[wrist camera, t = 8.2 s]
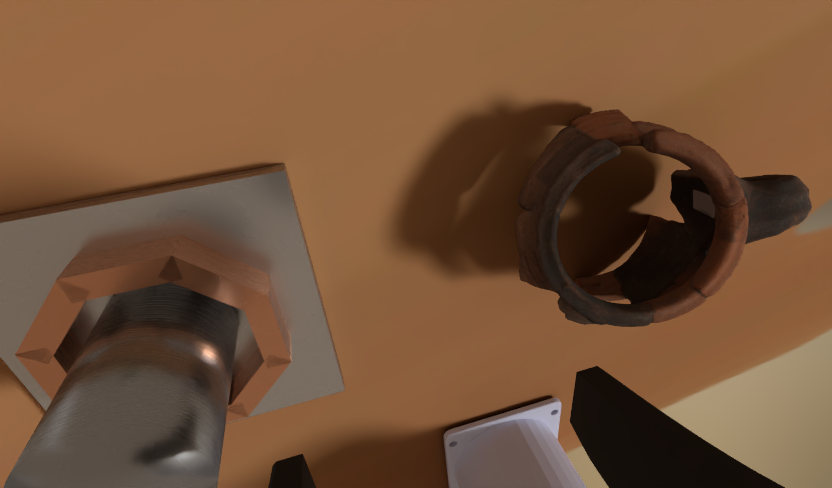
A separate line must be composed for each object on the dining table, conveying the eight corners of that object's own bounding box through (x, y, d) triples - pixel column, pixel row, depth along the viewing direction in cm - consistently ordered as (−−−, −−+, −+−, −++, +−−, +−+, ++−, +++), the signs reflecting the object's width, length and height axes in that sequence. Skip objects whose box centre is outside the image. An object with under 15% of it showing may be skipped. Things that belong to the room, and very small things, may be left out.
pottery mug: (527, 312, 25) (552, 380, 17) (480, 153, 24) (482, 143, 16) (754, 255, 23) (908, 300, 15) (713, 76, 22) (856, 19, 13)
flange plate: (343, 378, 23) (348, 414, 21) (95, 446, 21) (75, 492, 19) (284, 163, 16) (284, 185, 14) (-80, 229, 14) (-136, 266, 12)
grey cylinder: (218, 266, 17) (184, 410, 11) (251, 358, 19) (237, 514, 14) (76, 292, 16) (-43, 464, 10) (130, 385, 19) (60, 565, 13)
